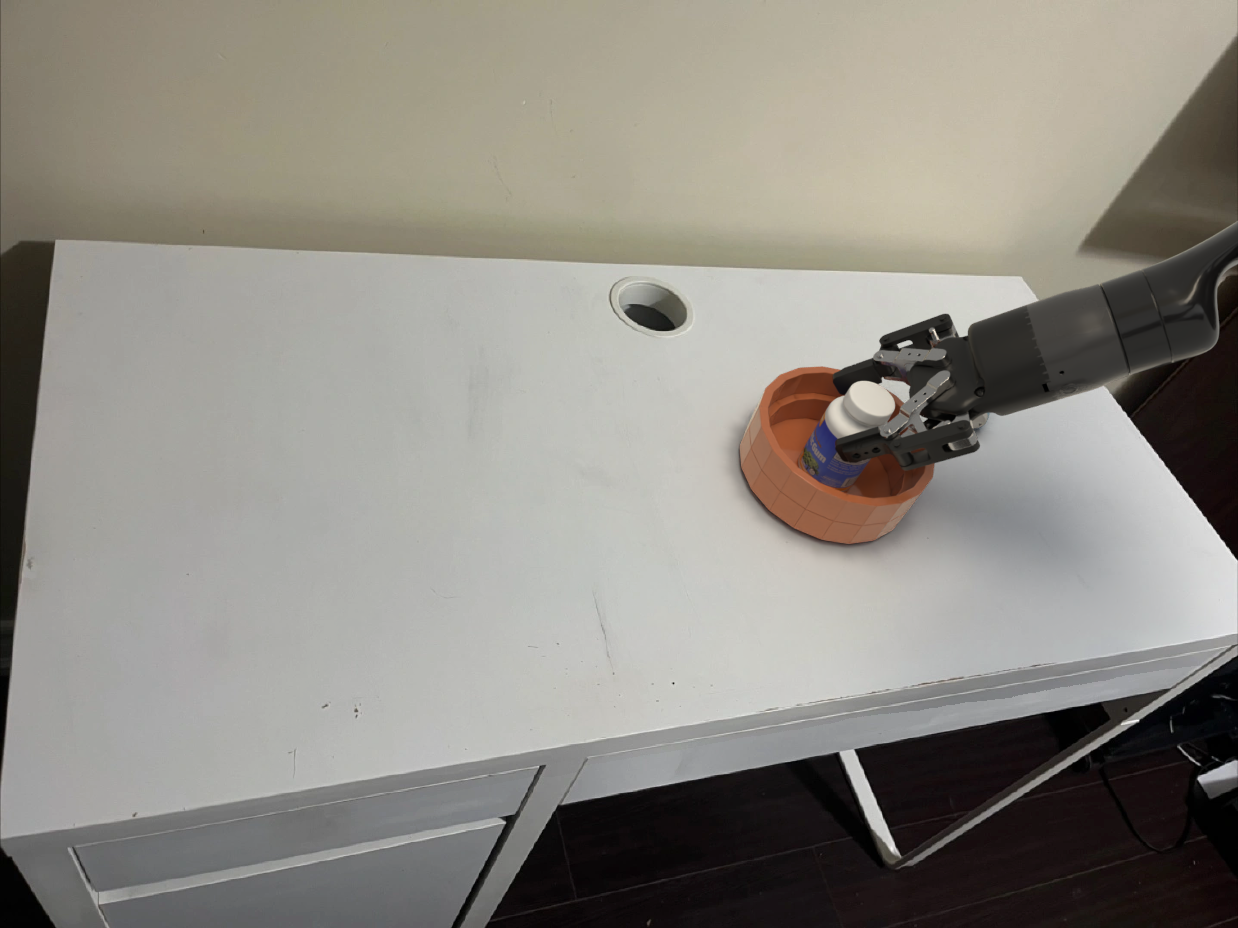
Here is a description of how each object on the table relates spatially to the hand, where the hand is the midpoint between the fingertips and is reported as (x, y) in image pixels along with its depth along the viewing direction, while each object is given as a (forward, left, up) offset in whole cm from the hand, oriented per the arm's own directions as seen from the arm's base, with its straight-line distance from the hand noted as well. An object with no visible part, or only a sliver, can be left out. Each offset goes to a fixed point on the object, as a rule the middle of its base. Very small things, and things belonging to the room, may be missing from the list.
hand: (837, 417), depth 72 cm
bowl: (-1, -1, -7) cm, 7 cm away
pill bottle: (-1, -1, -7) cm, 7 cm away
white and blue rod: (-7, -27, -7) cm, 29 cm away
